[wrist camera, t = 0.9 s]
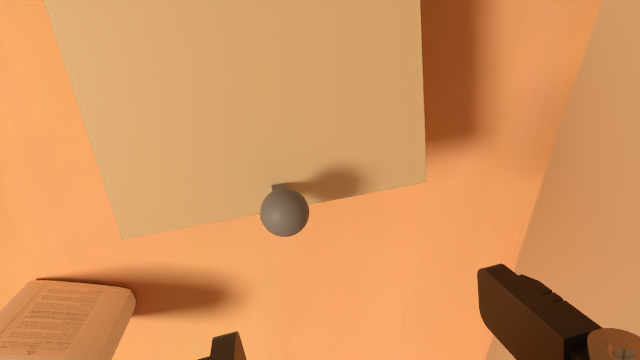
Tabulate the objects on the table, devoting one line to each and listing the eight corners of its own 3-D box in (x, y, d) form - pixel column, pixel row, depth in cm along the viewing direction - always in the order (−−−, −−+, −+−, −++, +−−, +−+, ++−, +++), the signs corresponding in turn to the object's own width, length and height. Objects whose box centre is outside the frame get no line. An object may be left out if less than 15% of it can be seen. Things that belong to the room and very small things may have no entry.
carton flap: (44, -14, 22) (-30, -39, 16) (412, -52, 25) (465, -85, 19) (125, 234, 27) (92, 284, 21) (422, 179, 30) (465, 209, 24)
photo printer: (23, 312, 38) (-73, 424, 27) (24, 274, 37) (-76, 374, 26) (135, 319, 41) (91, 425, 29) (138, 284, 40) (95, 379, 28)
